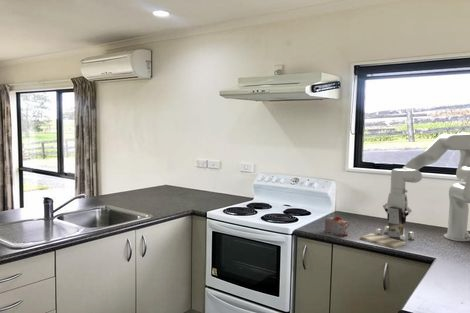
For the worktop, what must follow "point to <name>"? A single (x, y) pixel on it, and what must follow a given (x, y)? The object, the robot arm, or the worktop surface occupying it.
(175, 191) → the worktop surface
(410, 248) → the worktop surface
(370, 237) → the board
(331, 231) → the food item
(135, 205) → the worktop surface
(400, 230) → the coffee box
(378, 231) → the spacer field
